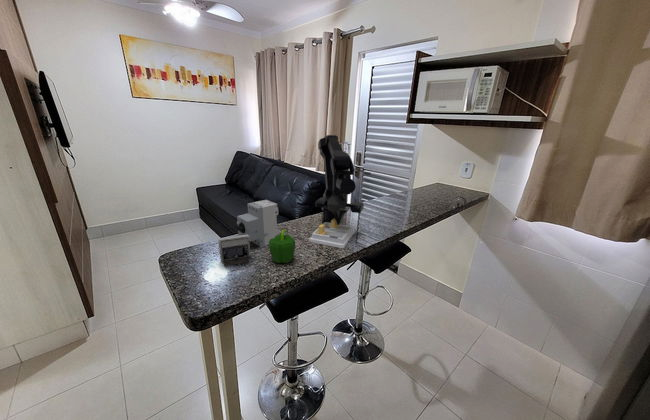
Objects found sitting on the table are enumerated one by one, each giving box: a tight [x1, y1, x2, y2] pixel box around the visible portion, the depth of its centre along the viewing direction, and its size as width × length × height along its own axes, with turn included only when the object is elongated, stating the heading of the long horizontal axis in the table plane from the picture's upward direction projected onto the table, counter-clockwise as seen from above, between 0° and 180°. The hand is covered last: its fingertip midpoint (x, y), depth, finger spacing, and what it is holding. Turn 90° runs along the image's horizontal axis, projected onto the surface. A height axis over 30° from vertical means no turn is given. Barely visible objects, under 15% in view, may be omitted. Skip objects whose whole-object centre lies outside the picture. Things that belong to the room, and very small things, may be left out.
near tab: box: [317, 223, 326, 235], centre depth 98 cm, size 3×3×4 cm
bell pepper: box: [268, 229, 296, 264], centre depth 82 cm, size 8×8×10 cm
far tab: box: [329, 219, 338, 229], centre depth 104 cm, size 3×3×4 cm
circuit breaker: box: [235, 199, 280, 248], centre depth 92 cm, size 8×14×15 cm, turn 135°
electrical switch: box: [217, 235, 251, 266], centre depth 80 cm, size 9×5×9 cm, turn 113°
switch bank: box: [308, 222, 356, 249], centre depth 101 cm, size 14×16×3 cm
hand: (338, 224), depth 104 cm, fingers closed
